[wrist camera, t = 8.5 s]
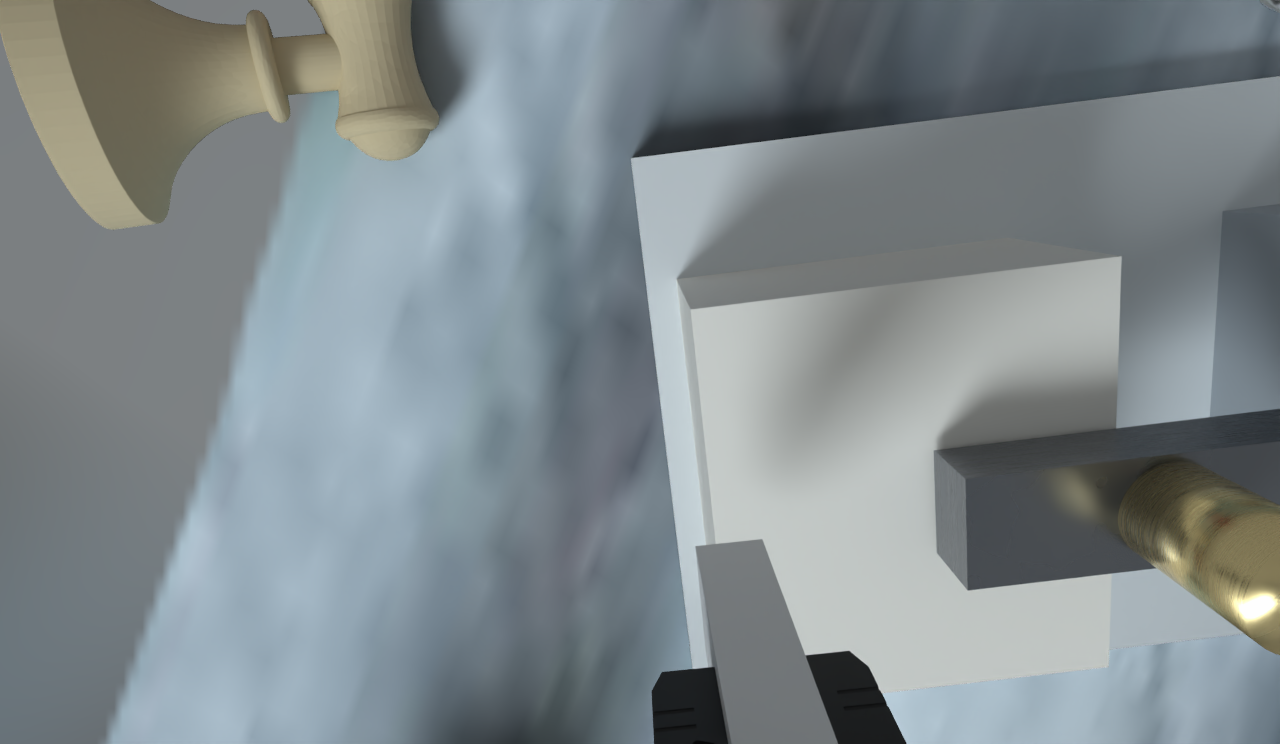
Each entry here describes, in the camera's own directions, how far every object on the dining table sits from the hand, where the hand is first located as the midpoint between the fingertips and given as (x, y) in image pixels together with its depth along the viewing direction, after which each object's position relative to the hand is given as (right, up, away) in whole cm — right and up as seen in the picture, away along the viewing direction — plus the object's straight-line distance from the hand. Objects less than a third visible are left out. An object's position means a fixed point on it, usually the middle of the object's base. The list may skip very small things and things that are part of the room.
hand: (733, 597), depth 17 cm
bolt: (+12, +2, +3) cm, 13 cm away
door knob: (-14, +15, +8) cm, 22 cm away
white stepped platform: (+14, +4, +11) cm, 18 cm away
